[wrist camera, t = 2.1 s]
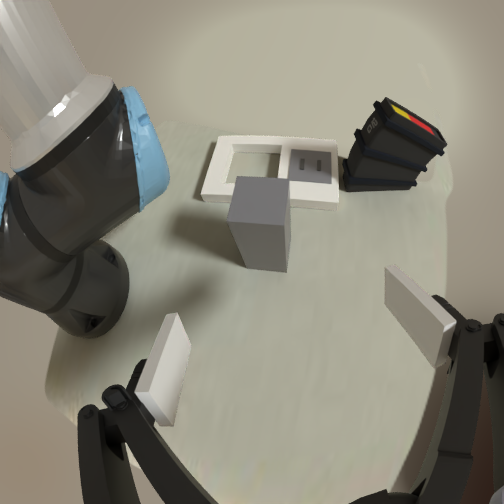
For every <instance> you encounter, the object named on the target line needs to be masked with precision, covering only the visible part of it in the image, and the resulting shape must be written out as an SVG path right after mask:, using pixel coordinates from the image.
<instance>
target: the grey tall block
mask: <svg viewBox="0 0 504 504" xmlns="http://www.w3.org/2000/svg"><path fill="white" fill-rule="evenodd" d="M227 224H228V226H229V228H230V231H231V233H232V235H233V237H234V240H235V242H236V244H237V247H238V249H239V251H240V254H241V256H242V258H243V260H244V263H245V265H246V267H247V269H257V270H266V271H276V272H286V273H287V266H288V257H289V249H290V240H291V215H290V179H286V178H268V177H246V176H237V178H236V183H235V187H234V191H233V195H232V200H231V204H230V208H229V213H228V217H227Z"/></svg>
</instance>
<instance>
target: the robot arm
mask: <svg viewBox="0 0 504 504" xmlns="http://www.w3.org/2000/svg"><path fill="white" fill-rule="evenodd" d="M149 119H150V118H149V116H148V114H147V111H146V108H145V105H144V103H143V101H142V99H141V97H140V95H139V93H138V92H137V90H136V89H135V88H134V87H133V86H129V87H122V88H121V89H120V90H119V91H118V89H117V88H116V86H115V84H114V82H113V80H112V79H111V77H109V76H103V75H97V74H90V73H88V72H87V70H86V69H85V67H84V65H83V63H82V61H81V60H80V58H79V56H78V54H77V53H76V51H75V49H74V47H73V45H72V43H71V41H70V40H69V38H68V36H67V34H66V32H65V30H64V28H63V26H62V24H61V22H60V20H59V19H58V17H57V15H56V13H55V11H54V9H53V7H52V5H51V3H50V1H49V0H0V128H1V129H2V130H3V132H4V133H5V134H6V135H7V137H8V138H9V139H10V140H11V159H10V166H11V169H13V171H14V172H15V173H16V175H14V176H13V177H12V178H9V176H8V174H7V173H3V172H1V171H0V296H1V297H3V298H6V299H8V300H10V301H13V302H16V303H18V304H21V305H23V306H26V307H29V308H31V309H34V310H37V311H39V312H42V313H45V314H46V315H47V316H48V317H50V318H51V319H52V320H53V321H54V322H55V323H56V324H58V325H59V326H60V327H61V328H62V329H63V330H65V331H66V332H67V333H69V334H71V335H74V336H78V337H82V338H95V337H98V336H101V335H103V334H104V333H106V332H107V331H108V330H110V329H111V328H112V327H113V326H114V324H115V323H116V322H117V320H118V319H119V317H120V316H121V314H122V312H123V310H124V307H125V304H126V301H127V298H128V292H129V272H128V268H127V265H126V262H125V260H124V258H123V257H122V255H121V254H120V253H119V252H118V251H117V250H116V249H115V248H113V247H112V246H111V245H110V244H108V243H106V242H104V241H102V240H99V239H100V238H101V237H103V236H104V235H105V234H107V233H108V232H110V231H111V230H112V229H114V228H115V227H117V226H118V225H120V224H121V223H122V222H124V221H125V220H127V219H128V218H130V217H131V216H133V215H134V214H136V213H137V212H139V213H140V212H141V211H142V210H143V209H144V207H145V206H146V205H147V204H149V203H150V202H151V201H153V200H154V199H156V198H157V197H158V196H160V195H161V194H163V193H164V191H165V190H166V189H167V186H168V184H169V180H170V173H169V168H168V165H167V161H166V158H165V155H164V153H163V150H162V147H161V144H160V142H159V139H158V136H157V134H156V131H155V129H154V127H153V124H152V123H151V122H150V120H149ZM385 305H386V306H387V308H388V309H389V310H390V311H391V313H392V314H393V315H394V316H395V318H396V319H397V320H398V321H399V323H400V324H401V325H402V327H403V328H404V329H405V330H406V332H407V333H408V334H409V336H410V337H411V338H412V340H413V341H414V342H415V344H416V345H417V346H418V348H419V349H420V350H421V352H422V353H423V354H424V356H425V357H426V358H427V360H428V361H429V363H430V364H431V365H432V367H433V368H437V367H439V366H441V365H443V364H445V363H446V359H447V356H448V355H449V357H450V358H451V359H452V360H451V363H450V366H449V369H448V372H447V374H448V379H447V384H446V389H445V394H444V398H443V402H442V406H441V410H440V413H439V417H438V421H437V424H436V428H435V431H434V434H433V437H432V440H431V443H430V446H429V449H428V452H427V454H426V457H425V460H424V462H423V465H422V467H421V470H420V472H419V475H418V477H417V479H416V480H415V482H414V484H413V485H412V487H411V489H410V491H409V493H401V492H395V493H394V492H393V493H387V490H386V489H385V490H382V491H379V492H377V493H374V494H371V495H368V496H364V497H361V498H359V499H357V500H355V501H353V502H351V503H349V504H459V503H460V500H461V498H462V495H463V492H464V489H465V486H466V483H467V480H468V477H469V474H470V470H471V467H472V462H473V456H472V455H471V449H472V445H473V441H474V435H475V431H476V426H477V420H478V413H479V407H480V399H481V390H482V378H483V370H484V375H485V380H486V385H487V391H488V397H489V404H490V412H491V421H492V433H493V451H494V452H493V455H494V469H493V470H494V471H493V475H494V491H495V494H494V495H493V496H492V498H491V501H490V503H489V504H504V314H502V313H500V314H497V315H496V316H495V317H494V320H493V323H490V324H484V325H482V324H481V323H480V322H479V321H477V320H473V319H468V320H466V319H465V318H464V317H463V316H462V315H461V314H460V313H459V312H458V311H457V310H456V309H455V308H453V307H452V306H451V305H450V304H448V302H447V301H446V300H445V299H444V298H442V297H440V296H438V295H433V296H430V295H429V294H428V293H427V292H426V291H425V290H424V289H422V288H421V287H420V286H419V285H418V284H417V283H416V282H415V281H414V280H412V279H411V278H410V277H409V276H408V275H407V274H406V273H404V272H403V271H402V270H401V269H400V268H399V267H398V266H396V265H395V264H394V265H391V266H387V267H385ZM191 347H192V345H191V343H190V341H189V339H188V336H187V334H186V332H185V329H184V327H183V325H182V322H181V320H180V317H179V315H178V313H171V314H166V316H165V319H164V321H163V323H162V325H161V328H160V330H159V332H158V335H157V337H156V340H155V342H154V344H153V347H152V349H151V351H150V354H149V356H148V359H142V360H141V361H140V362H139V363H138V364H137V365H136V367H135V369H134V371H133V374H132V376H131V379H130V381H129V383H128V385H127V388H126V390H125V388H124V387H123V386H122V385H118V384H117V385H112V386H110V387H108V388H107V389H106V390H105V391H104V392H103V394H102V401H103V402H104V403H105V405H106V406H107V407H108V408H106V409H102V410H99V409H98V408H97V407H96V406H95V405H92V404H90V405H86V406H84V407H83V408H82V409H81V410H80V411H79V413H78V454H79V468H80V478H81V486H82V494H83V501H84V504H141V503H140V501H139V497H138V494H137V491H136V487H135V484H134V480H133V476H132V472H131V468H130V464H129V460H128V455H127V451H126V446H125V442H126V443H127V444H128V446H129V448H130V450H131V452H132V453H133V455H134V457H135V459H136V460H137V462H138V464H139V465H140V467H141V469H142V470H143V472H144V473H145V475H146V477H147V478H148V480H149V481H150V483H151V484H152V486H153V487H154V489H155V490H156V491H157V493H158V494H159V496H160V497H161V499H162V500H163V501H164V503H165V504H218V503H217V502H216V501H215V500H214V499H213V498H212V497H211V496H210V494H209V493H208V492H207V491H206V490H205V489H204V488H203V487H202V486H201V485H200V484H199V483H198V482H197V480H196V479H195V478H194V477H193V476H192V475H191V474H190V472H189V471H188V470H187V469H186V468H185V466H184V465H183V464H182V463H181V462H180V460H179V459H178V458H177V457H176V455H175V454H174V453H173V451H172V450H171V449H170V448H169V446H168V445H167V444H166V442H165V441H164V439H163V438H162V437H161V435H160V434H159V433H158V431H157V430H156V428H155V427H154V422H155V421H156V422H157V423H158V424H159V425H160V426H174V422H175V417H176V413H177V408H178V403H179V399H180V394H181V390H182V385H183V381H184V377H185V372H186V368H187V364H188V360H189V355H190V351H191Z"/></svg>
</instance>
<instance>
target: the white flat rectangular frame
mask: <svg viewBox="0 0 504 504" xmlns="http://www.w3.org/2000/svg"><path fill="white" fill-rule="evenodd" d="M234 152H248V153H279V154H281V157H280V164H279V171H278V178H286V179H290V207H300V208H311V209H322V210H333V211H337V208H338V204H339V179H338V153H337V141H336V140H327V139H316V138H302V137H284V136H219V138H218V141H217V144H216V147H215V150H214V153H213V156H212V159H211V162H210V165H209V168H208V172H207V175H206V178H205V181H204V184H203V188H202V191H201V196H202V198H203V200H204V202H222V203H231V200H232V195H233V191H234V187H235V184H232V183H226V179H227V175H228V172H229V168H230V164H231V160H232V157H233V153H234Z"/></svg>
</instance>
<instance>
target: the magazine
mask: <svg viewBox="0 0 504 504" xmlns="http://www.w3.org/2000/svg"><path fill="white" fill-rule="evenodd" d="M373 106H374V108H375V109H376V110H375V111H374V112H373V113H372V114H371V116H370V117H369V118H368V119H367V121H366V123H365V125H364V127H363V128H362V130H360V129H356V131H355V133H354V135H355V138H356V141H355V143H354V145H353V146H352V149H351V151H350V154H349V157H348V159H343V163H342V165H343V168H344V174H343V180H344V183H345V187H346V191H347V192H360V191H384V190H409V189H410V188H411V186H416V185H417V182H416V180H415V179H416V178H417V176H418V175H419V174H420V172H421V171H423V172H426V171H427V168H426V164H427V163H428V162H429V161H430V160H431V159H432V158H433V157H435V156H436V155H437V154H438V155H440V156H442V155H443V154H444V151H443V148H444V147H446V146H447V143H446V141H445V139H444V138H443V136H442V134H441V133H440V131H439V130H438V129H437V128H436V127H434V126H433V125H431V124H430V123H428V122H427V121H425V120H424V119H422V118H421V117H419V116H417V115H416V114H414V113H413V112H411V111H409V110H408V109H406V108H404V107H403V106H401V105H399V104H397V103H396V102H394V101H392V100H390V99H389V98H387V97H385V99H384V100H383V101H382V102H381V103H380V102H378V101H376V102H375V103H374V104H373Z"/></svg>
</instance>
